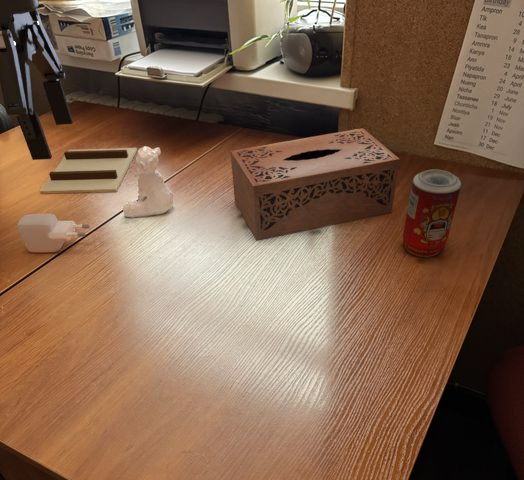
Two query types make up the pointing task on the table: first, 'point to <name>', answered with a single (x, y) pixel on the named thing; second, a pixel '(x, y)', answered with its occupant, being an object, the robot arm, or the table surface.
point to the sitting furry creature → (149, 187)
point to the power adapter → (46, 232)
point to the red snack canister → (430, 211)
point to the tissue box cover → (313, 182)
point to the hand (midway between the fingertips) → (54, 140)
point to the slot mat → (90, 171)
